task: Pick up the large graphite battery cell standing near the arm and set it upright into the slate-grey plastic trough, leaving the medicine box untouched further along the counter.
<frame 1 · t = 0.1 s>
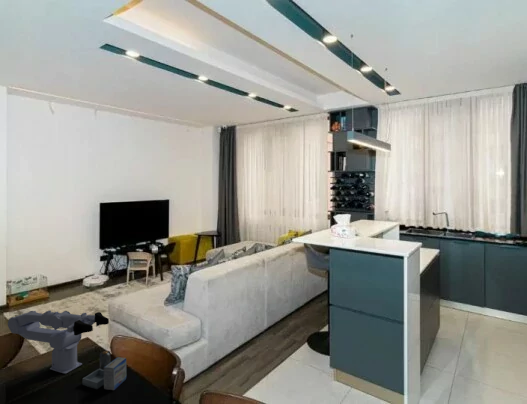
hand: (100, 324, 129), 22 cm above the table, tool horizontal, fingers open, 7 cm apart
trough: (98, 381, 127), on the table
medicine box: (115, 384, 126), on the table
battery cell: (105, 369, 136), on the table
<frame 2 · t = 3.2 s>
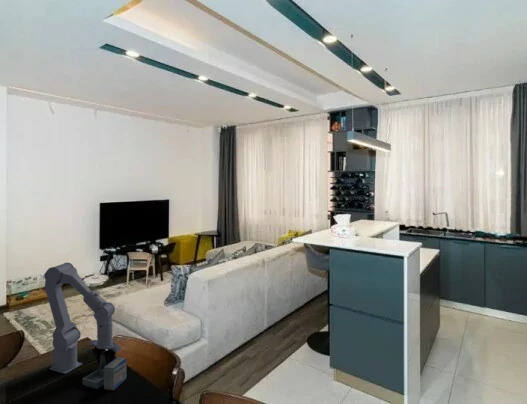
hand: (105, 365, 136), 2 cm above the table, tool pointing down, fingers closed on battery cell, 4 cm apart
battery cell: (105, 369, 136), on the table, touching gripper
everything else where it was.
when the fingers open (3 cm above the table, at t = 7.5 s): battery cell stays where it is, resting on trough.
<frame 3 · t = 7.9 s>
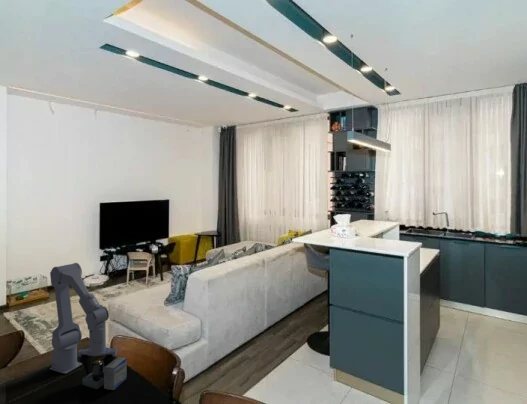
hand: (98, 373, 127), 3 cm above the table, tool pointing down, fingers open, 6 cm apart
medicine box: (115, 384, 126), on the table, touching gripper
battery cell: (98, 380, 127), resting on trough
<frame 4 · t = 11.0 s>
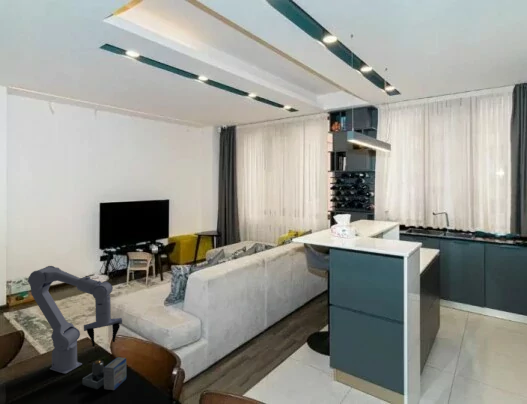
hand: (103, 343, 137), 10 cm above the table, tool pointing down, fingers open, 7 cm apart
medicine box: (115, 384, 126), on the table
everything else where it was.
at the end: battery cell 0.0 cm off-centre on the trough, point 0.5 cm above the trough's base; battery cell tilted 0°; the gripper is holding nothing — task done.
